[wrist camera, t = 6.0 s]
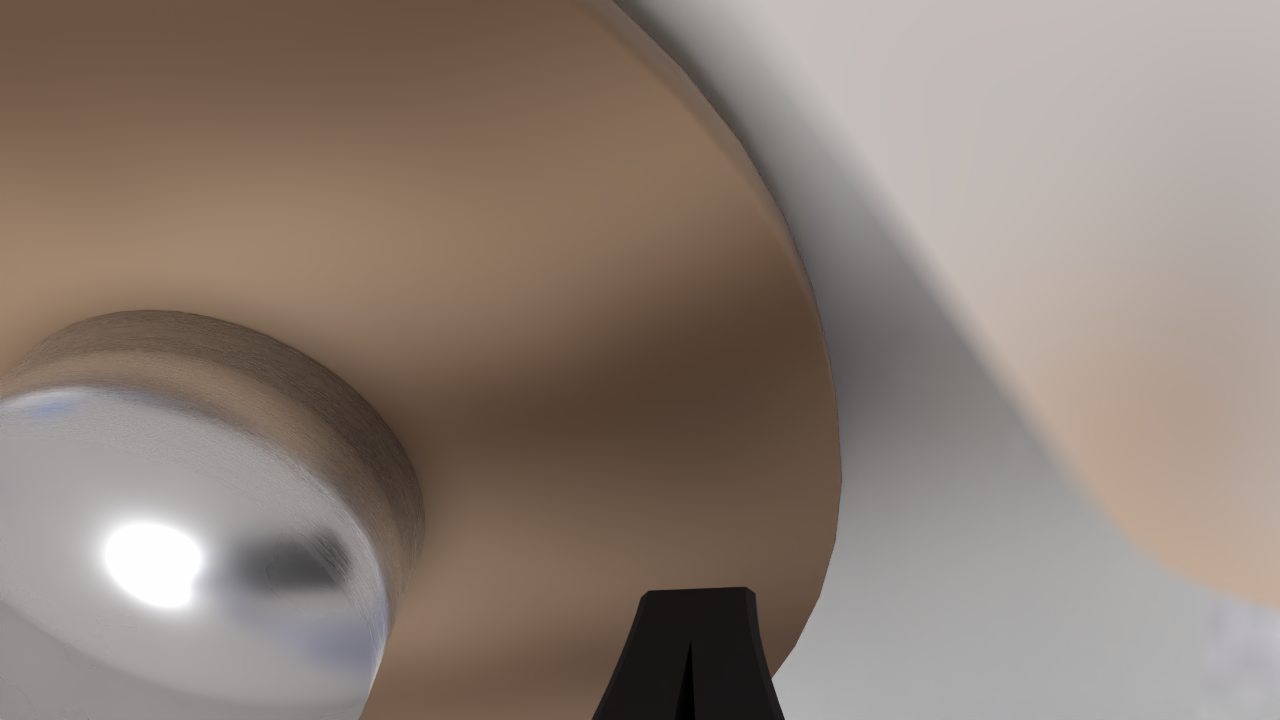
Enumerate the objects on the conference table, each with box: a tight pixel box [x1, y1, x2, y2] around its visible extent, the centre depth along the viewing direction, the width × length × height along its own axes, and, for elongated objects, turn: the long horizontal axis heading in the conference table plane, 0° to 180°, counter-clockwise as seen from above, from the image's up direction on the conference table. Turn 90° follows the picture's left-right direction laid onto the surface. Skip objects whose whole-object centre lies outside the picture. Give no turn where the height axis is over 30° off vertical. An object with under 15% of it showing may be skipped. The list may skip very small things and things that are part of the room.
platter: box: [0, 0, 842, 720], centre depth 16 cm, size 20×20×4 cm
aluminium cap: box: [0, 310, 425, 720], centre depth 15 cm, size 7×7×3 cm
